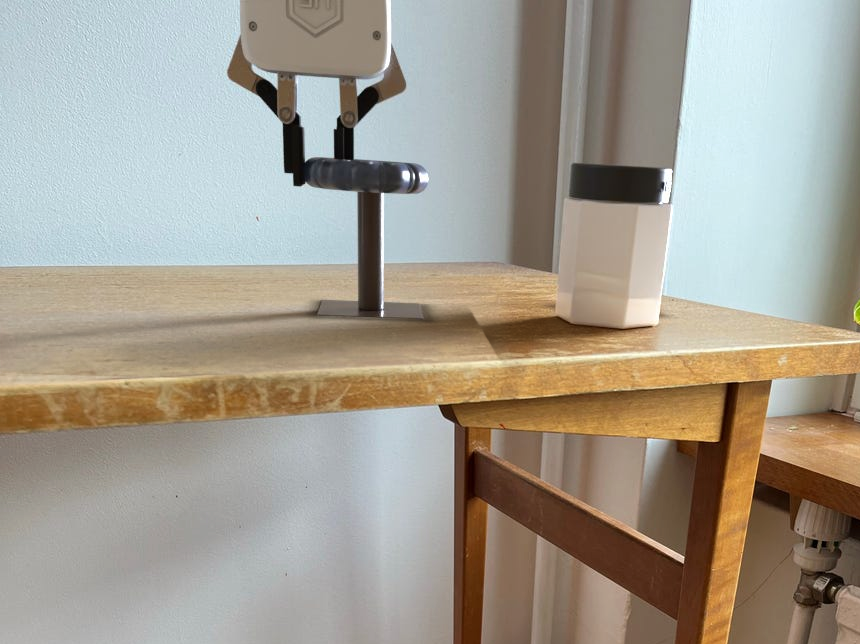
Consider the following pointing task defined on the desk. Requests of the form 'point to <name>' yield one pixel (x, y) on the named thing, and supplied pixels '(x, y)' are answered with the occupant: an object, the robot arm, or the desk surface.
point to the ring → (365, 175)
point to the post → (370, 269)
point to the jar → (614, 245)
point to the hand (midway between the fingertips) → (319, 184)
